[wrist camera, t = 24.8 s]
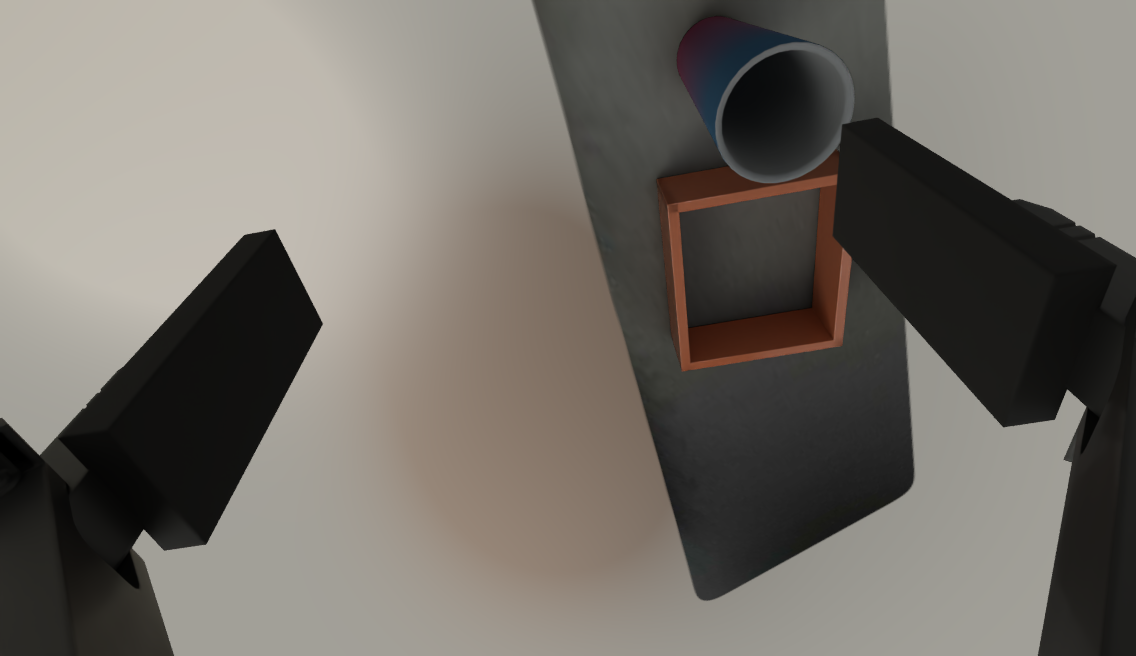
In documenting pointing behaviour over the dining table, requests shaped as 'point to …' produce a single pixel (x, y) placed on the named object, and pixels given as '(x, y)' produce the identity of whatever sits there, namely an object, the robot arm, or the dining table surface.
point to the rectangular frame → (762, 332)
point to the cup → (766, 97)
